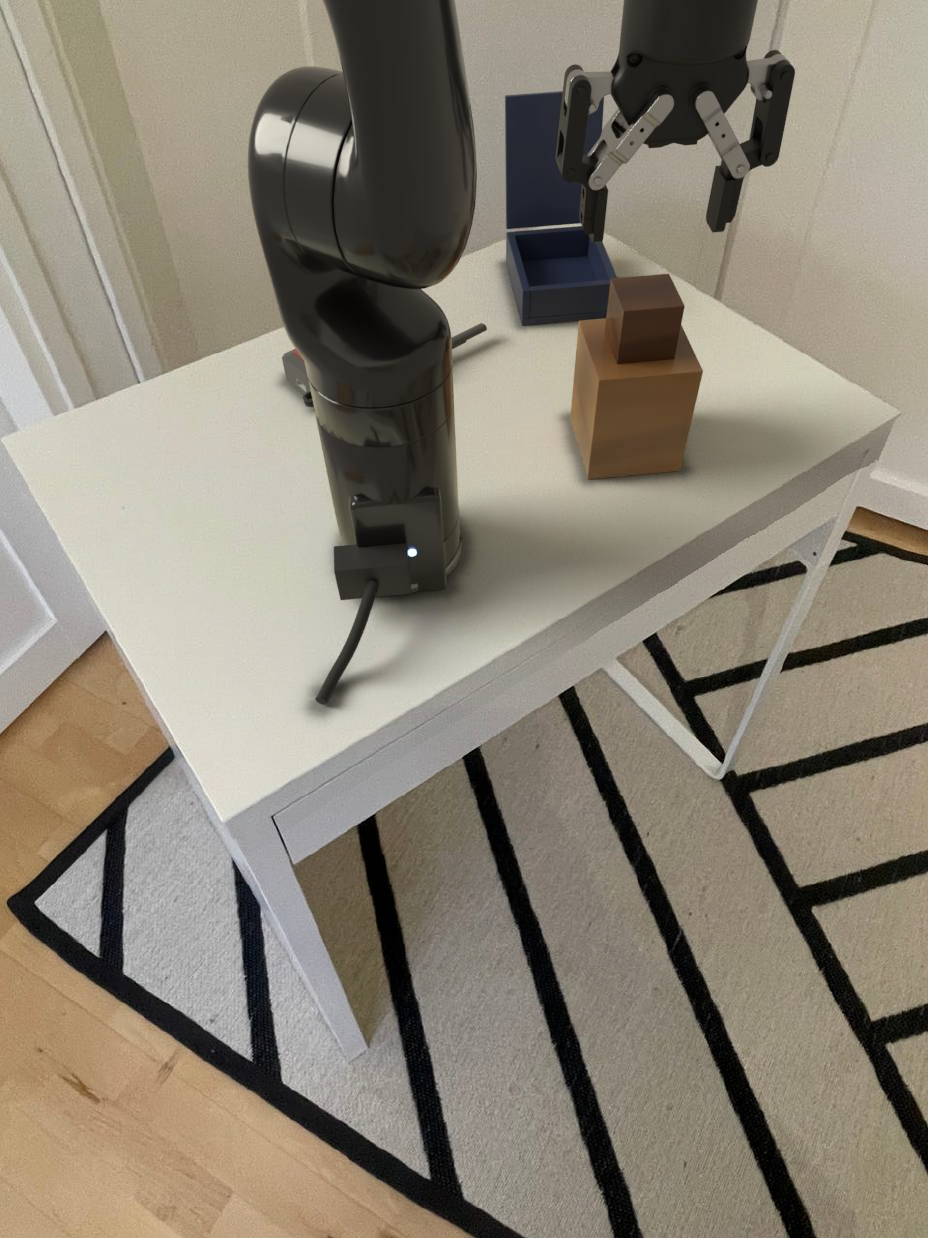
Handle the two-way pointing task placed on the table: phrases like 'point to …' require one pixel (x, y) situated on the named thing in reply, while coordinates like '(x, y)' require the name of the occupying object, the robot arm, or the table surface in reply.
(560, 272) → the navy jewelry box
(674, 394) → the stand
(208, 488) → the table surface
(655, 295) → the block
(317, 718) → the table surface
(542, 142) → the cover
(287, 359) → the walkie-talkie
